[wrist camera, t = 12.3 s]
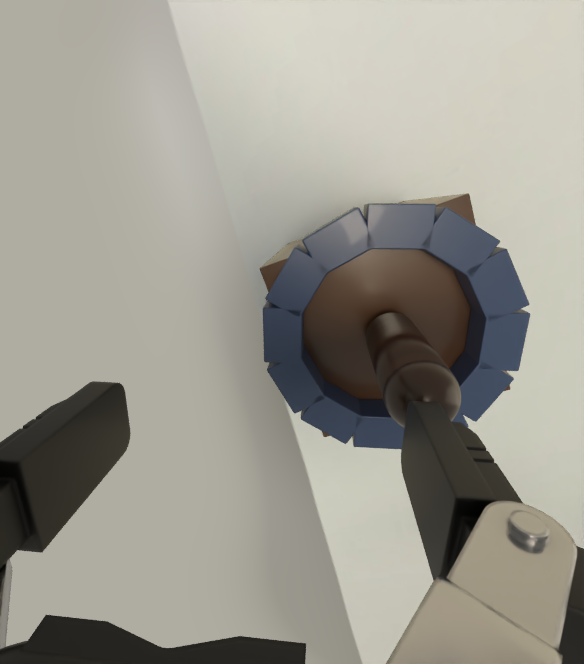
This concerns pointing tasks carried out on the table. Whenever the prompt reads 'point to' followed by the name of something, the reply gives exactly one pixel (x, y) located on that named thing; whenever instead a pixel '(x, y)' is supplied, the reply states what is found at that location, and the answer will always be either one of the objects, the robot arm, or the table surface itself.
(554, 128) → the table surface
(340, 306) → the stand
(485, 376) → the ring
